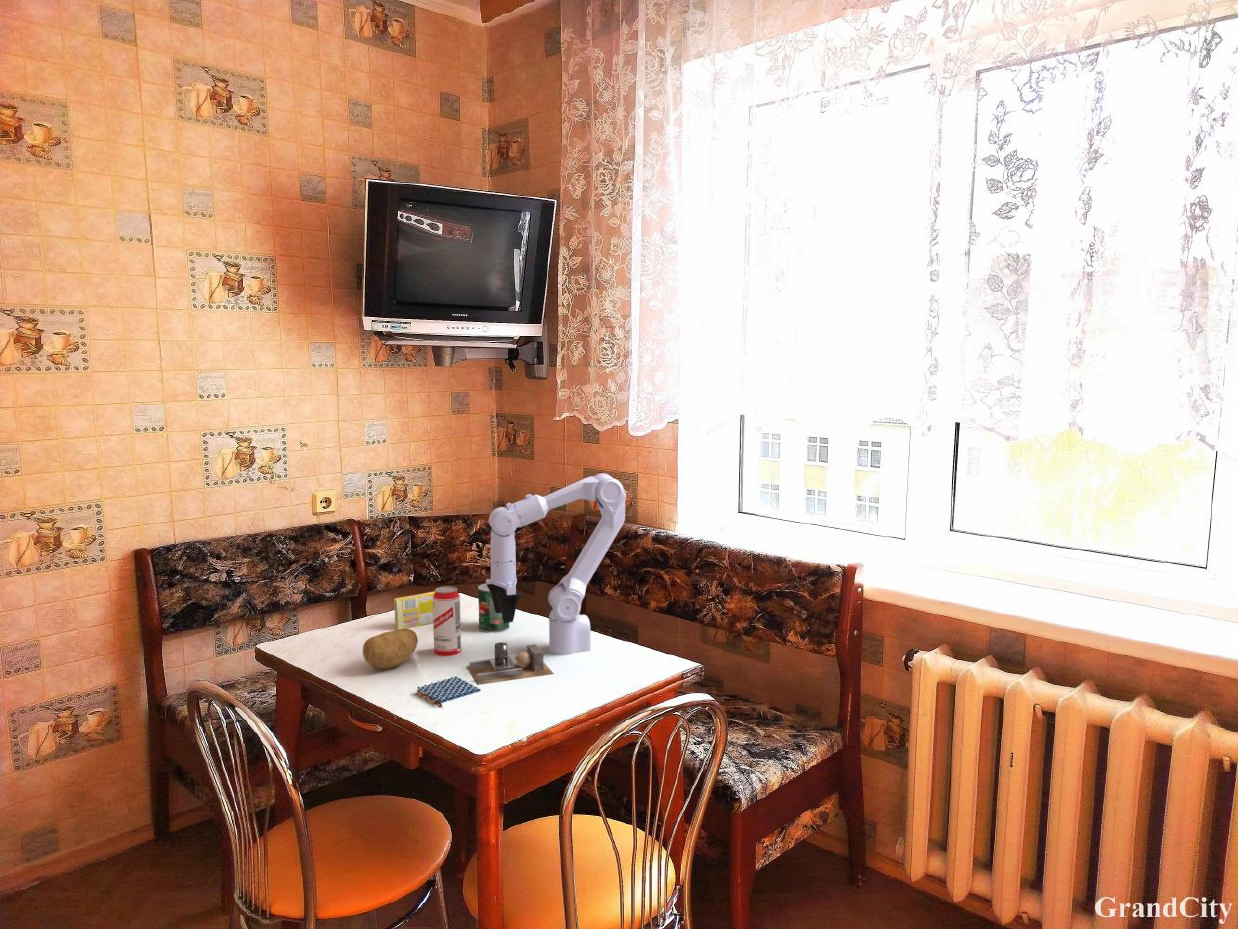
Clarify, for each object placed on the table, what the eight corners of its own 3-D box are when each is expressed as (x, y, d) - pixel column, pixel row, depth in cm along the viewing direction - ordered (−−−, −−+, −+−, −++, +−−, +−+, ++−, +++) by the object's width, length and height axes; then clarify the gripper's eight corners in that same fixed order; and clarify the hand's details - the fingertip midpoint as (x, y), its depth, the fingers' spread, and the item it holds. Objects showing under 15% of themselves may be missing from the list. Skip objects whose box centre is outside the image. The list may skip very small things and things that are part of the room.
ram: (511, 663, 192) (510, 638, 192) (518, 672, 187) (517, 647, 186) (489, 666, 191) (488, 641, 190) (495, 675, 185) (495, 650, 184)
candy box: (452, 617, 230) (451, 587, 229) (455, 619, 229) (455, 589, 228) (394, 628, 221) (393, 597, 220) (397, 631, 219) (396, 599, 218)
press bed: (538, 660, 198) (538, 639, 197) (554, 678, 187) (553, 656, 186) (465, 670, 192) (465, 648, 191) (477, 689, 181) (476, 666, 180)
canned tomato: (515, 627, 222) (515, 586, 220) (492, 634, 216) (491, 592, 215) (495, 621, 227) (495, 581, 226) (472, 628, 221) (471, 587, 220)
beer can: (455, 660, 198) (453, 593, 196) (429, 658, 199) (427, 592, 197) (465, 651, 204) (463, 586, 202) (440, 649, 205) (438, 584, 203)
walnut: (526, 666, 193) (530, 650, 193) (530, 671, 189) (534, 655, 189) (511, 664, 191) (515, 648, 191) (515, 669, 188) (519, 654, 188)
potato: (430, 660, 198) (429, 627, 197) (382, 679, 186) (381, 644, 185) (401, 652, 203) (399, 620, 202) (353, 670, 192) (351, 636, 190)
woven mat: (456, 682, 186) (456, 674, 185) (483, 697, 178) (483, 688, 178) (413, 695, 179) (413, 686, 178) (439, 711, 171) (439, 701, 171)
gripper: (479, 554, 201) (480, 610, 203) (493, 568, 188) (494, 628, 190) (508, 552, 204) (509, 607, 206) (524, 566, 191) (525, 624, 192)
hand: (504, 617), depth 198 cm, fingers open, 7 cm apart
